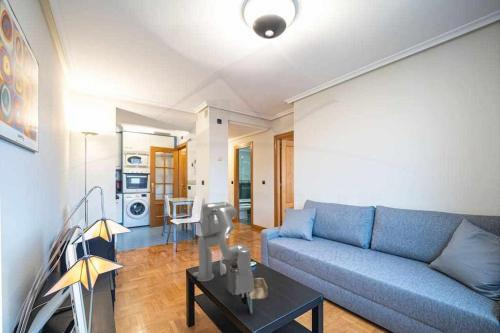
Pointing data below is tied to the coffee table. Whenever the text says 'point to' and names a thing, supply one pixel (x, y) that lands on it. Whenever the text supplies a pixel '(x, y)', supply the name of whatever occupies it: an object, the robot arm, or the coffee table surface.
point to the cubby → (259, 289)
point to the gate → (249, 303)
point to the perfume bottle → (232, 278)
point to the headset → (223, 267)
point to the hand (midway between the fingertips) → (244, 303)
